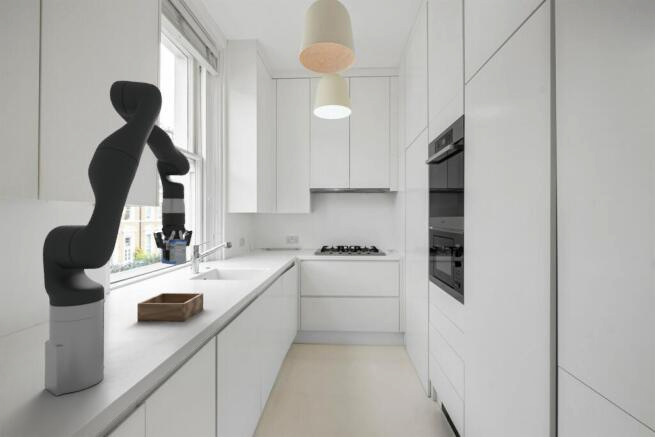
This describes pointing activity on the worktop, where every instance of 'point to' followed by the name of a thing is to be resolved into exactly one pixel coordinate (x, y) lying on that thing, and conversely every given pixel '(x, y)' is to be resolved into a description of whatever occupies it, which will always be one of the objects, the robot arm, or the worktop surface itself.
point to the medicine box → (176, 252)
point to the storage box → (170, 307)
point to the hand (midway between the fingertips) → (173, 259)
